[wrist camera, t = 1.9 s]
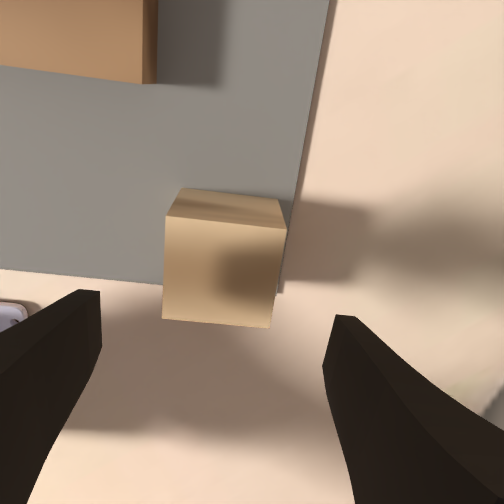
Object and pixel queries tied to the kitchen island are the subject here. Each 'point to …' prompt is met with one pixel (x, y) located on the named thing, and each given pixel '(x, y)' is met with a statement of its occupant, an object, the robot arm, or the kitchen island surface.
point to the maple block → (222, 258)
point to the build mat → (155, 137)
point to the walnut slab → (82, 37)
